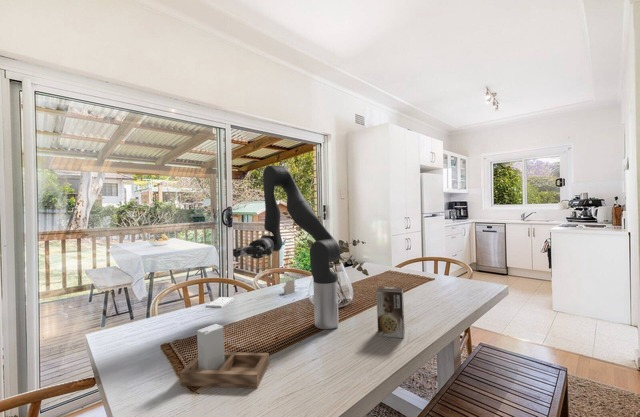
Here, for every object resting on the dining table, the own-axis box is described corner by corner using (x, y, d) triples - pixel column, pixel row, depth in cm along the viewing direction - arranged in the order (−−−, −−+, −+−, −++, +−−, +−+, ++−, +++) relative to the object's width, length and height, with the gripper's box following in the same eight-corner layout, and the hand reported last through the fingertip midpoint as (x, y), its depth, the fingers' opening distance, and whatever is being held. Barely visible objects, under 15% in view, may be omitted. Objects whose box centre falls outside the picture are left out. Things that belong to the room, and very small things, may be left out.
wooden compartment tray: (269, 364, 89) (268, 353, 89) (257, 388, 78) (256, 374, 78) (201, 363, 92) (201, 351, 92) (180, 385, 80) (180, 372, 80)
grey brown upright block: (405, 331, 110) (403, 287, 110) (403, 338, 104) (402, 292, 104) (379, 328, 113) (378, 285, 113) (377, 335, 107) (376, 290, 107)
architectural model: (282, 294, 162) (282, 280, 162) (292, 291, 167) (292, 278, 167) (286, 295, 160) (285, 281, 160) (296, 292, 164) (296, 279, 164)
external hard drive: (234, 300, 154) (221, 308, 142) (219, 300, 156) (205, 308, 144) (234, 297, 154) (221, 305, 142) (219, 296, 156) (205, 304, 144)
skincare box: (217, 363, 89) (215, 322, 89) (225, 368, 86) (224, 326, 86) (197, 372, 84) (195, 329, 84) (205, 378, 82) (204, 333, 81)
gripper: (243, 239, 125) (227, 244, 109) (276, 238, 124) (265, 243, 108) (243, 257, 125) (228, 265, 109) (277, 256, 124) (266, 264, 108)
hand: (246, 254), depth 109 cm, fingers open, 8 cm apart
